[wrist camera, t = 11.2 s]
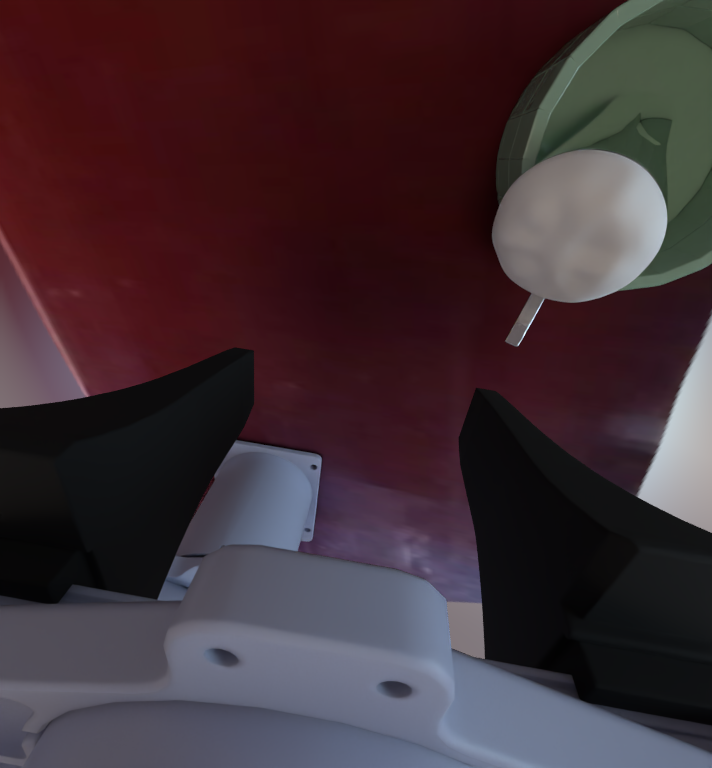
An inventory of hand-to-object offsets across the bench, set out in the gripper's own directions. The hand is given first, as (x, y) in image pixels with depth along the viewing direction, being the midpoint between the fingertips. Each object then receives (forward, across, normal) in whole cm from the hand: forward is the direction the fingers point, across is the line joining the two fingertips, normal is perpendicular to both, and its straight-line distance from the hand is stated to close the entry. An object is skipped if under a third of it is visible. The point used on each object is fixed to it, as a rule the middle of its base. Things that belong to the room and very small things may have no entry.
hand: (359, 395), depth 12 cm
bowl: (+10, -9, -8) cm, 16 cm away
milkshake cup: (+9, -9, -8) cm, 15 cm away
